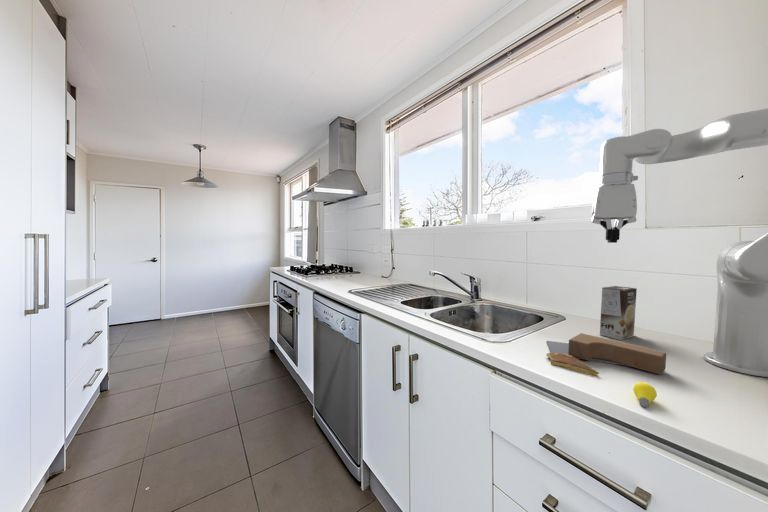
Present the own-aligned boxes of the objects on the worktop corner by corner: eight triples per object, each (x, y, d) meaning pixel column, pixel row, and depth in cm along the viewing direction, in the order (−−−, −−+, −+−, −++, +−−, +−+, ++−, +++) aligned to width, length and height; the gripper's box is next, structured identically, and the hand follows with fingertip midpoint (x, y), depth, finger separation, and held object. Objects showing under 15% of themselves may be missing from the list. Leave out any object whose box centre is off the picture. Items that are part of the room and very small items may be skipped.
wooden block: (567, 355, 78) (657, 381, 64) (568, 339, 78) (659, 361, 63) (580, 347, 83) (665, 370, 69) (580, 332, 83) (666, 352, 69)
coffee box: (622, 340, 90) (624, 290, 89) (599, 334, 96) (601, 287, 95) (634, 335, 95) (637, 288, 94) (611, 330, 100) (613, 285, 100)
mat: (645, 354, 80) (645, 353, 80) (664, 371, 70) (664, 369, 70) (546, 341, 89) (546, 340, 89) (550, 354, 79) (550, 353, 79)
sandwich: (599, 379, 67) (599, 371, 67) (565, 378, 67) (566, 371, 67) (570, 359, 78) (570, 352, 78) (542, 359, 78) (542, 352, 78)
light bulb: (651, 396, 58) (660, 385, 57) (650, 417, 54) (660, 405, 53) (630, 387, 60) (638, 375, 59) (628, 406, 56) (637, 394, 55)
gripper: (641, 181, 86) (638, 242, 87) (582, 185, 92) (580, 242, 93) (653, 176, 79) (649, 242, 80) (587, 180, 85) (585, 242, 86)
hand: (612, 242), depth 87 cm, fingers closed
